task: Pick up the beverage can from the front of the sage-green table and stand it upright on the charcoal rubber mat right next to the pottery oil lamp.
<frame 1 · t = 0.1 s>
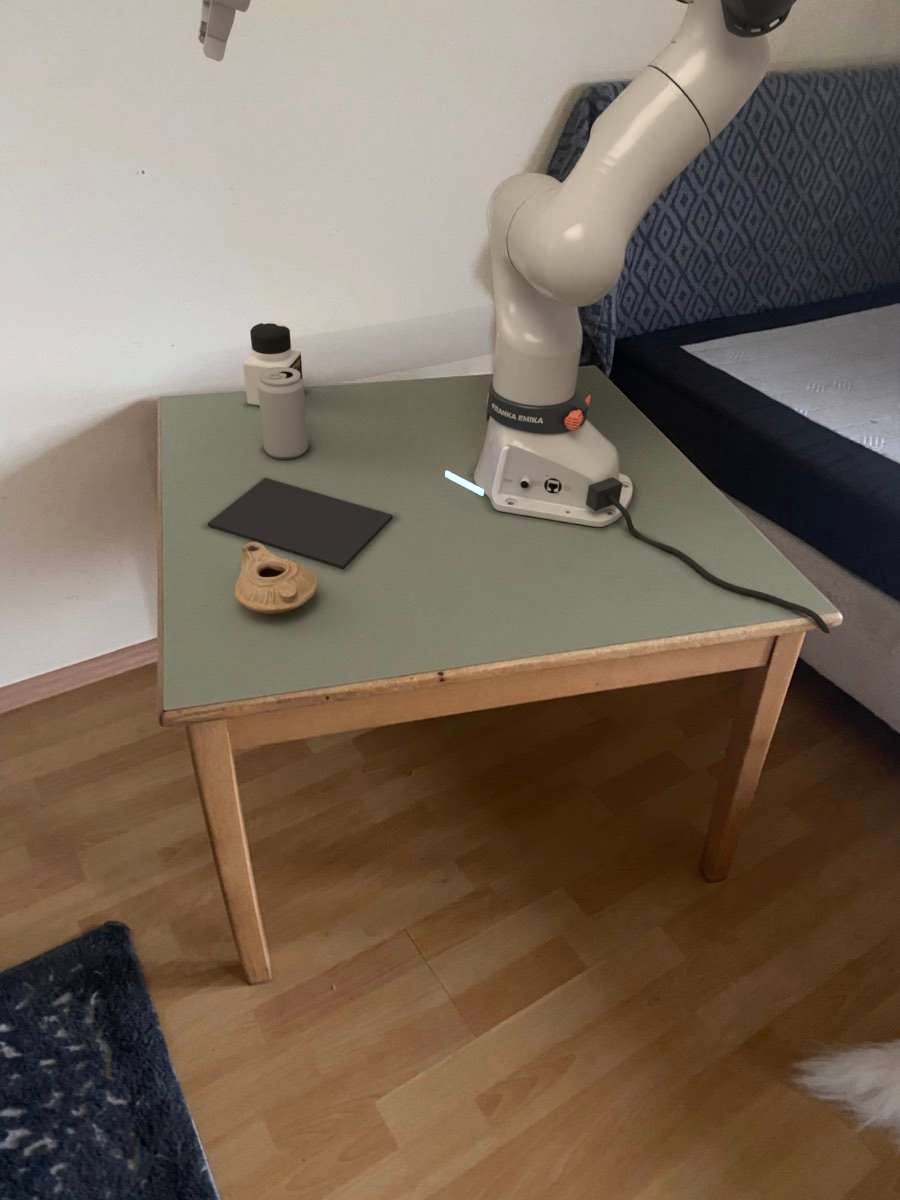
hand: (209, 51, 84), 52 cm above the table, tool tilted 20°, fingers open, 8 cm apart
beverage can: (286, 452, 129), on the table
medicine bottle: (276, 399, 142), on the table
mat: (301, 521, 114), on the table
pottery oil lamp: (274, 596, 102), on the table
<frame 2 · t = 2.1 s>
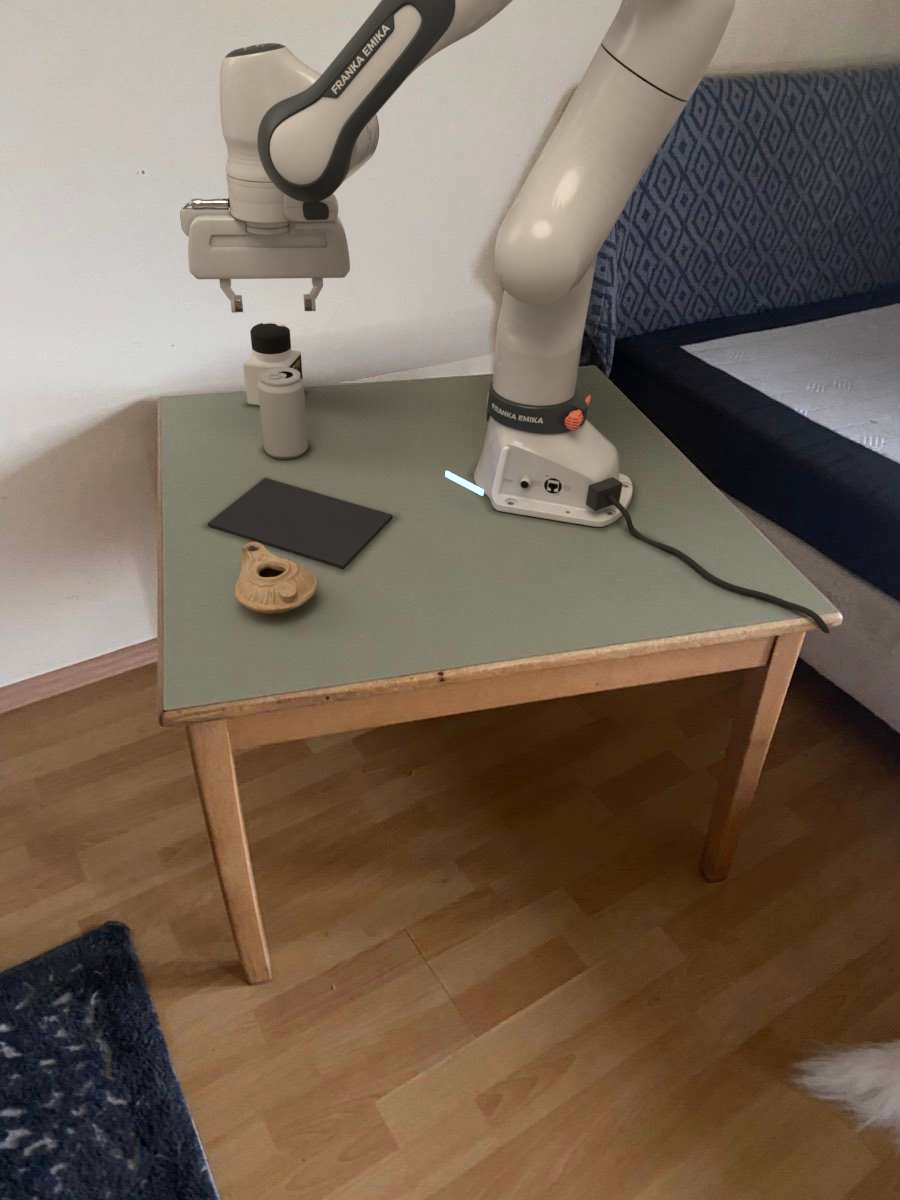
hand: (273, 310, 116), 21 cm above the table, tool pointing down, fingers open, 8 cm apart
nothing on the table moved.
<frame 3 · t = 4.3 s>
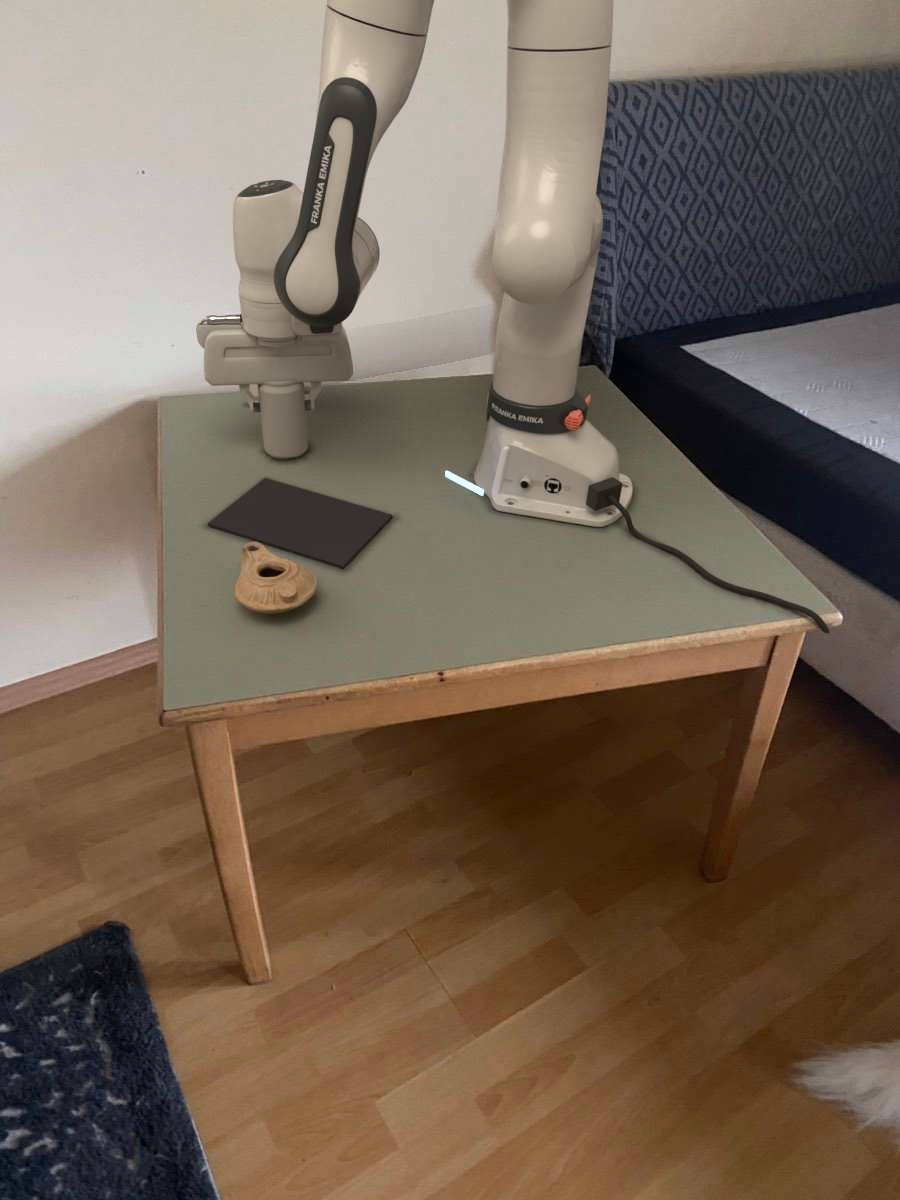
hand: (282, 409, 124), 7 cm above the table, tool pointing down, fingers closed on beverage can, 6 cm apart
beverage can: (286, 452, 129), on the table, touching gripper
everything else where it was.
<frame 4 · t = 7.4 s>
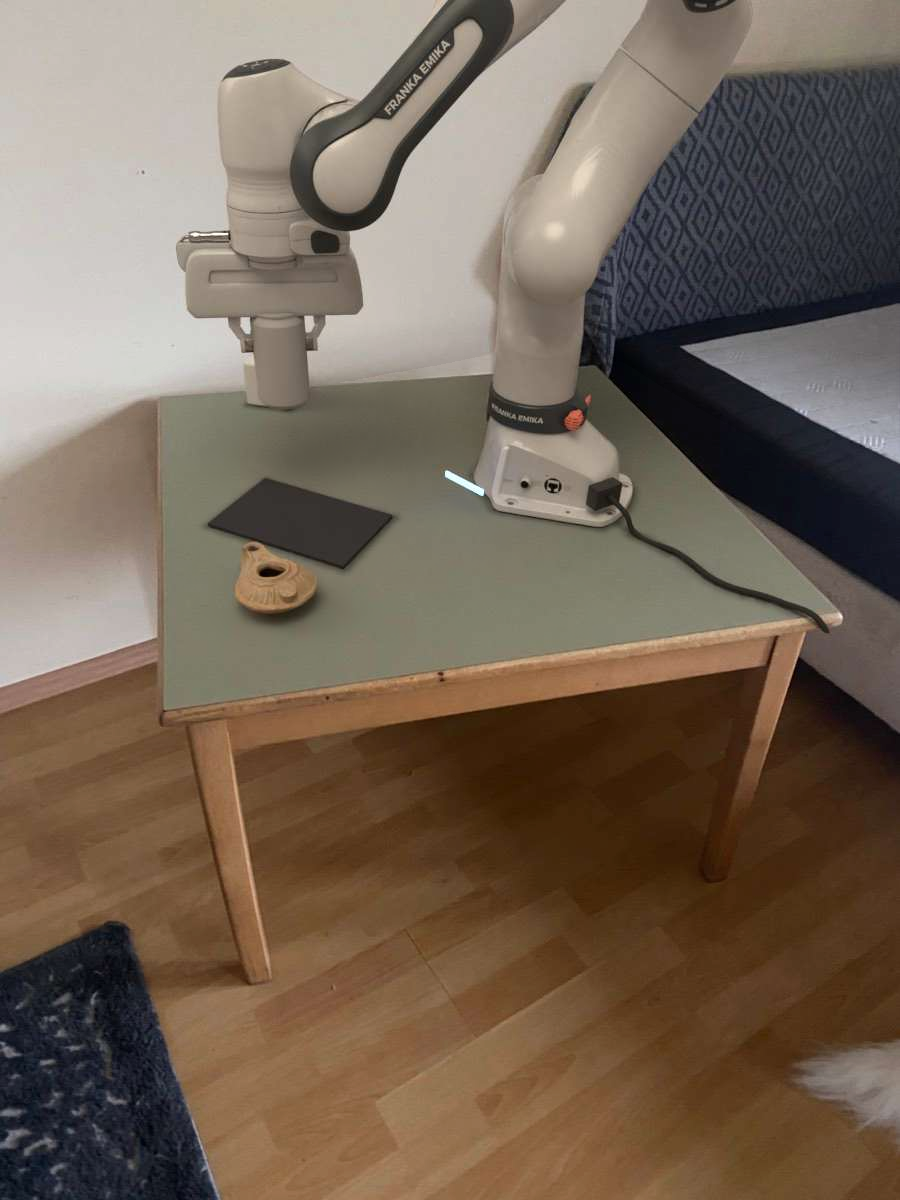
hand: (280, 350, 105), 21 cm above the table, tool pointing down, fingers closed on beverage can, 6 cm apart
beverage can: (284, 402, 110), point 14 cm above the table, touching gripper
everything else where it was.
when the fingers open (7 cm above the table, at t = 10.8 s): beverage can stays where it is, resting on mat.
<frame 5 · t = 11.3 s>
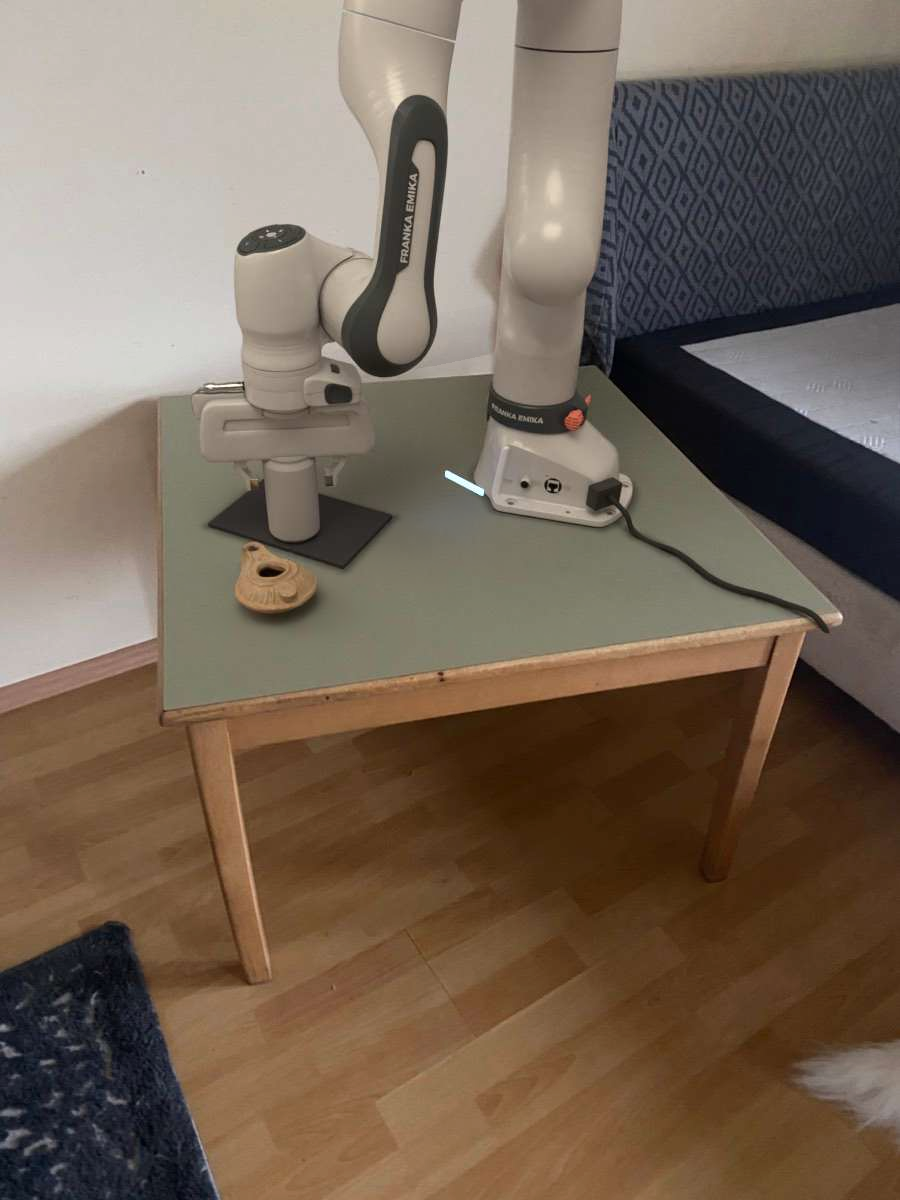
hand: (292, 486, 107), 7 cm above the table, tool pointing down, fingers open, 8 cm apart
beverage can: (295, 533, 111), resting on mat
everything else where it was.
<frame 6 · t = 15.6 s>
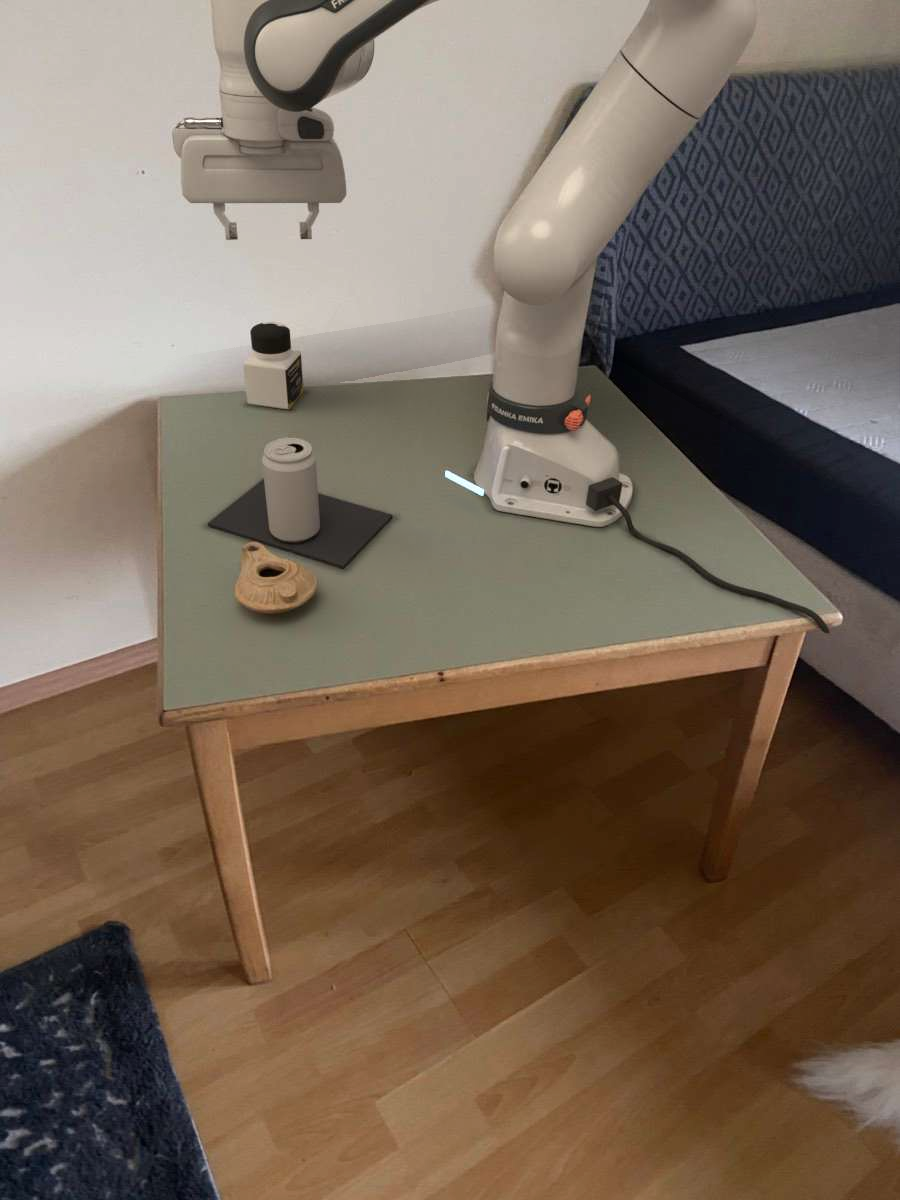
hand: (269, 238, 113), 29 cm above the table, tool pointing down, fingers open, 8 cm apart
nothing on the table moved.
at the end: beverage can 12.4 cm from the pottery oil lamp (horizontally); beverage can inside the target area on the mat (2.7 cm from its centre), point 0.3 cm above the mat's base; beverage can tilted 0° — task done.
